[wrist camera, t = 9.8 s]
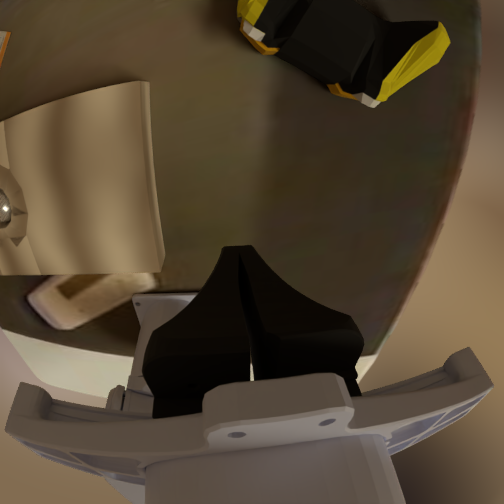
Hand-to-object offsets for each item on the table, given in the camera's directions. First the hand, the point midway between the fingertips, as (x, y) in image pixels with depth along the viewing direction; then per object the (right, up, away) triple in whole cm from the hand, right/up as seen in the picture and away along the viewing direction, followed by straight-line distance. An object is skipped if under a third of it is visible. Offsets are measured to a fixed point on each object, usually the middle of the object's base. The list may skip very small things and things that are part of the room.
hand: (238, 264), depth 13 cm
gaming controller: (+6, +17, +2) cm, 18 cm away
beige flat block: (-17, +6, +5) cm, 18 cm away
